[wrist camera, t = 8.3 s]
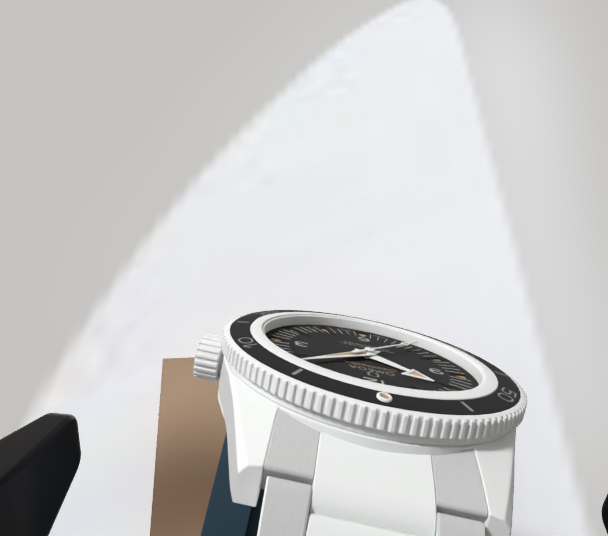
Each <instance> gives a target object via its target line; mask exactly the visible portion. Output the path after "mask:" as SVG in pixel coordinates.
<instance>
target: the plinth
mask: <svg viewBox="0 0 608 536" xmlns="http://www.w3.org/2000/svg"><path fill="white" fill-rule="evenodd" d="M194 360H195V358H170V359H163V367H162V380H161V394H160V407H159V421H158V434H157V448H156V461H155V475H154V488H153V502H152V515H151V529H150V536H201V532H202V528H203V524H204V520H205V516H206V512H207V508H208V504H209V500H210V496H211V492H212V488H213V484H214V480H215V476H216V472H217V468H218V464H219V460H220V456H221V452H222V448H223V444H224V440H225V436H226V432H227V431H226V424H225V419H224V417H223V414H222V411H221V407H220V404H219V401H218V389H219V380H220V378H219V380H218V381H217V382H214V381H209V380H204V379H200V378H196V377H194V374H193V371H194V369H193V368H194Z"/></svg>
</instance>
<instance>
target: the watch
mask: <svg viewBox="0 0 608 536" xmlns="http://www.w3.org/2000/svg"><path fill="white" fill-rule="evenodd" d="M193 369H194V371H193V374H194V377H196V378H200V379H204V380H209V381H214V382H217V381H218V380H219V378H220V380H219V389H218V401H219V404H220V407H221V411H222V414H223V417H224V419H225V424H226V431H227V432H226V436H225V440H224V444H223V448H222V452H221V456H220V460H219V464H218V468H217V472H216V476H215V480H214V484H213V488H212V492H211V496H210V500H209V504H208V508H207V512H206V516H205V520H204V524H203V528H202V532H201V536H510V534H511V527H512V511H513V492H514V454H515V436H516V427H517V426H518V425H519V424H520V423H521V422H522V419H523V417H524V413H525V409H526V405H527V397H526V394H525V392H524V391H523V389H522V388H521V387H520V385H518V383H517V382H515V380H513V379H512V378H511V377H510V376H509V375H507V374H506V373H504V372H503V371H501V370H500V369H498V368H497V367H495V366H494V365H492V364H490V363H489V362H487V361H485V360H483V359H482V358H480V357H478V356H476V355H474V354H472V353H470V352H467V351H465V350H463V349H461V348H458V347H456V346H453V345H451V344H448V343H446V342H443V341H440V340H438V339H435V338H432V337H429V336H426V335H423V334H420V333H416V332H413V331H410V330H406V329H403V328H399V327H395V326H392V325H388V324H384V323H379V322H375V321H370V320H366V319H361V318H355V317H350V316H344V315H337V314H330V313H322V312H312V311H298V310H273V311H262V312H255V313H250V314H246V315H242V316H239V317H237V318H234V319H232V320H231V321H229V323H227V324H226V326H225V327H224V330H223V336H218V335H213V334H208V333H206V334H204V335H203V336H202V338H201V340H200V343H199V345H198V348H197V351H196V355H195V360H194V368H193Z"/></svg>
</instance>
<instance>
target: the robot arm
mask: <svg viewBox="0 0 608 536" xmlns="http://www.w3.org/2000/svg"><path fill="white" fill-rule="evenodd" d="M80 458H81V450H80V441H79V433H78V424H77V420H76V418H75V417H74V416H73V415H69V414H59V413H49V414H46V415H44V416H42V417H40V418H38V419H37V420H35V421H33V422H31V423H29V424H28V425H26V426H24V427H22V428H20V429H19V430H17V431H15V432H13V433H11V434H9V435H8V436H6V437H4V438H2V439H1V440H0V536H48V535H49V533H50V530H51V528H52V526H53V524H54V521H55V519H56V517H57V515H58V512H59V510H60V508H61V505H62V503H63V501H64V499H65V496H66V494H67V492H68V490H69V487H70V485H71V483H72V481H73V478H74V476H75V474H76V472H77V469H78V466H79V463H80ZM602 519H603V523H604V526H605V528H606V531H607V533H608V495H607V497H606V499H605V501H604V503H603V506H602Z"/></svg>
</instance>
